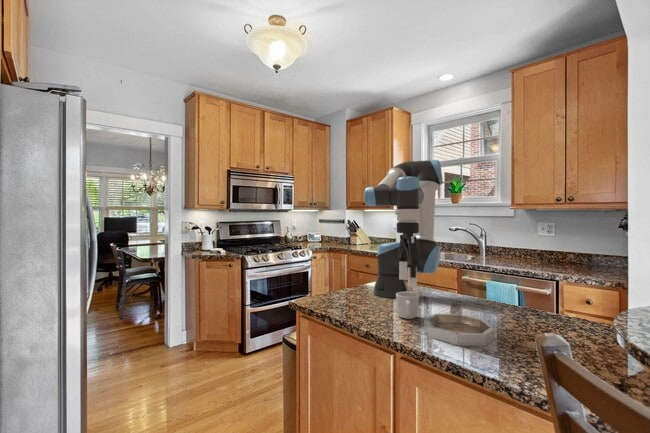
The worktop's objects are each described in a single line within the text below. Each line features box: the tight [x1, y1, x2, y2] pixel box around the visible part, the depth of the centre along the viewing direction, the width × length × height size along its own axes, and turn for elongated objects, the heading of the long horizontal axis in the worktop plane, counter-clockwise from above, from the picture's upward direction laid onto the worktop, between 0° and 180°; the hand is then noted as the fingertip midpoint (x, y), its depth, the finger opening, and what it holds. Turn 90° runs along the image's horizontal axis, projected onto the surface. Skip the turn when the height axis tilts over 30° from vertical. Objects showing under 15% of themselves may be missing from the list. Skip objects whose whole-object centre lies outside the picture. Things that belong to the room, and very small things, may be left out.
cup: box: [395, 291, 420, 320], centre depth 112 cm, size 11×8×8 cm
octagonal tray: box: [423, 313, 496, 347], centre depth 97 cm, size 18×18×3 cm
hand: (407, 283), depth 111 cm, fingers open, 13 cm apart
